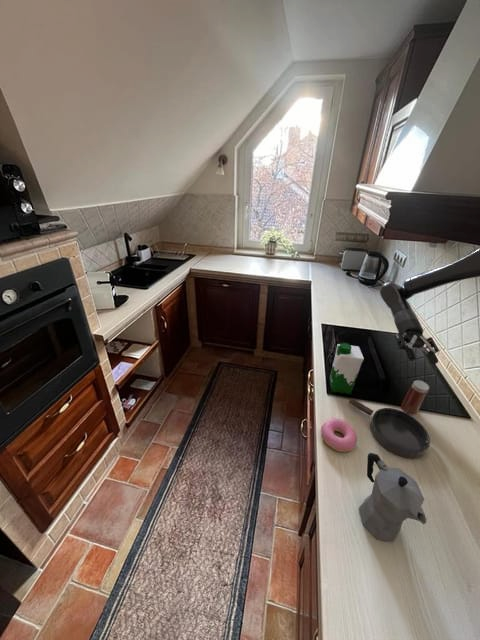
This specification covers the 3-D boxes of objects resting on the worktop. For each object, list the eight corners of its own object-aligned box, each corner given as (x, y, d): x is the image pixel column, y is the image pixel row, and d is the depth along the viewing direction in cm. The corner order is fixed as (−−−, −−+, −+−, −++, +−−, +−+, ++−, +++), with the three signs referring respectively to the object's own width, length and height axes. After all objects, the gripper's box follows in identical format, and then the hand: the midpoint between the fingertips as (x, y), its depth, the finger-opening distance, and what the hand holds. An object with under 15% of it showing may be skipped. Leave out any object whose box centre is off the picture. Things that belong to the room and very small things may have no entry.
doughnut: (312, 432, 83) (314, 423, 81) (336, 418, 88) (339, 410, 86) (338, 460, 75) (341, 452, 73) (363, 444, 80) (366, 436, 78)
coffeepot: (416, 546, 58) (450, 507, 49) (382, 560, 56) (412, 522, 47) (369, 478, 71) (390, 437, 62) (340, 487, 69) (357, 447, 60)
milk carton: (326, 378, 106) (336, 338, 96) (349, 380, 104) (361, 340, 94) (329, 393, 98) (341, 352, 88) (354, 396, 97) (368, 355, 87)
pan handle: (372, 413, 88) (373, 410, 87) (370, 416, 87) (371, 413, 86) (350, 399, 93) (351, 397, 92) (348, 402, 92) (348, 400, 91)
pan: (408, 415, 90) (411, 408, 88) (437, 460, 76) (442, 453, 74) (362, 413, 90) (364, 407, 88) (383, 458, 76) (387, 451, 74)
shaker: (412, 403, 95) (424, 379, 89) (420, 415, 90) (433, 390, 84) (398, 403, 95) (409, 379, 89) (405, 414, 90) (418, 390, 84)
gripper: (397, 314, 92) (414, 353, 83) (431, 320, 94) (451, 359, 85) (384, 326, 98) (398, 363, 88) (416, 332, 100) (433, 369, 90)
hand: (424, 361), depth 86 cm, fingers open, 8 cm apart
